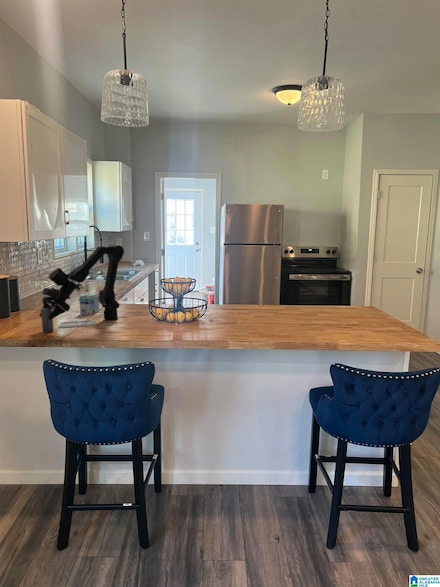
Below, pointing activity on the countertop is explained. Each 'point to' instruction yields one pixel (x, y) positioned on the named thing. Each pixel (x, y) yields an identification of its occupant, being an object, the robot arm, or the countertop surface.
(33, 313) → the countertop surface
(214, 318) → the countertop surface
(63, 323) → the label plate
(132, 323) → the countertop surface
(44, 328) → the post
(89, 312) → the light bulb box
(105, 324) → the countertop surface
